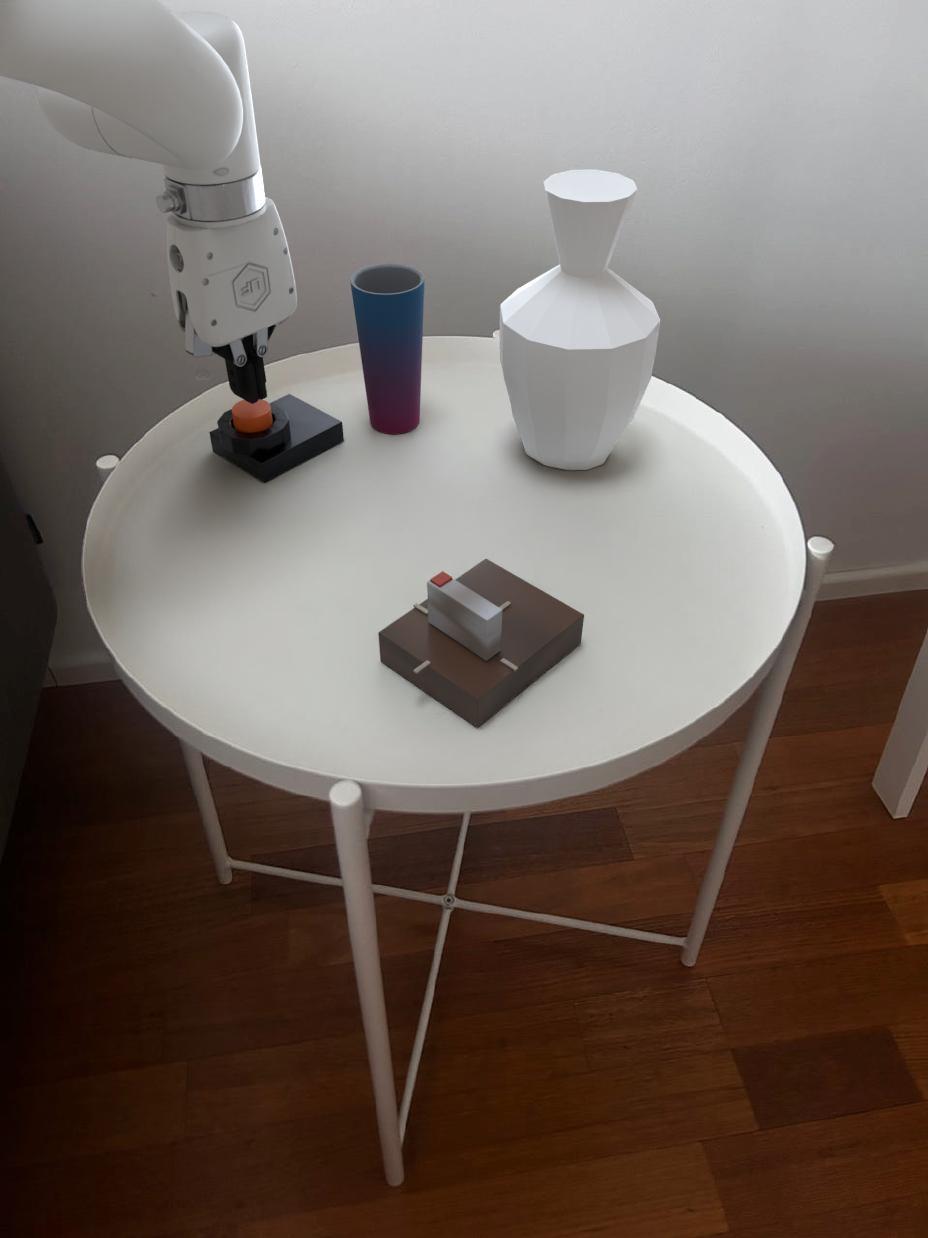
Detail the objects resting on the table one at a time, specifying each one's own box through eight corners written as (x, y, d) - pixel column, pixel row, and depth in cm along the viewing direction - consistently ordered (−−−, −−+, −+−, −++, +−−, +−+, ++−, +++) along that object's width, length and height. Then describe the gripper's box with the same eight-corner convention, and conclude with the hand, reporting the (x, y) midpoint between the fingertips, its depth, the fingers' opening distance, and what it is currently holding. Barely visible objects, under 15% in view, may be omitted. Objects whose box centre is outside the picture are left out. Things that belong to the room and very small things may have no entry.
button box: (258, 486, 94) (252, 450, 91) (206, 454, 98) (198, 418, 95) (344, 441, 100) (341, 405, 97) (291, 412, 104) (287, 377, 101)
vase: (465, 450, 98) (466, 186, 81) (555, 396, 106) (573, 144, 89) (581, 509, 91) (609, 233, 74) (669, 445, 99) (712, 183, 82)
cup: (438, 431, 101) (435, 287, 91) (373, 444, 99) (363, 299, 89) (415, 398, 106) (410, 258, 96) (352, 411, 104) (341, 269, 94)
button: (250, 438, 93) (247, 422, 92) (226, 424, 95) (223, 408, 94) (280, 423, 95) (278, 407, 94) (256, 410, 97) (254, 394, 96)
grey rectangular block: (501, 650, 73) (503, 606, 70) (486, 661, 72) (487, 617, 69) (443, 612, 76) (442, 568, 73) (427, 622, 75) (426, 578, 73)
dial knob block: (467, 738, 71) (468, 707, 69) (368, 668, 76) (365, 637, 74) (582, 643, 78) (585, 613, 76) (484, 585, 83) (485, 555, 81)
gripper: (166, 232, 75) (208, 443, 87) (318, 179, 83) (337, 379, 95) (109, 206, 79) (158, 412, 91) (260, 158, 87) (286, 354, 99)
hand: (249, 395), depth 93 cm, fingers closed
